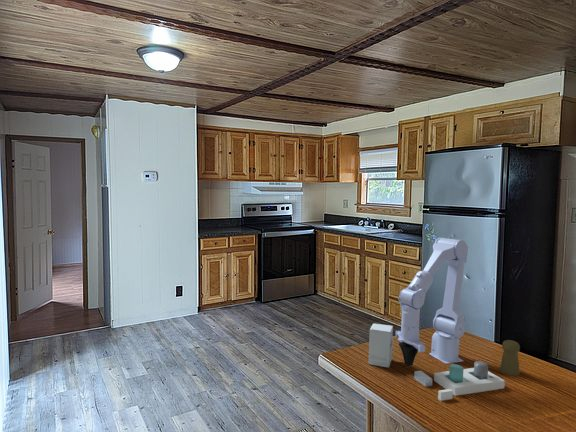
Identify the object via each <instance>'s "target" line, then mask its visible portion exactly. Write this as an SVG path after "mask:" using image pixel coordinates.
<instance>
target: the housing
mask: <svg viewBox="0 0 576 432" xmlns="http://www.w3.org/2000/svg"><path fill="white" fill-rule="evenodd" d="M433 381H434V382H435V383H436V384H438V385H439V386H441V387H442V388H444V390H446V389H451V390H452V391H453V395H454V396H463V395H470V394H475V393H481V392H482V393H483V392H488V391H496V390H500V389H501V390H503V389H505V381H506V380H505V379H503V378H501V377H499V376H498V375H496V374H494V373H492V372H491V371H489V370H488V379H483V380H479V379H478V378H476V377H474V367H470V368H464V370H463V382H462V383H454V382H452V381H451V380H449V370H446V371H439V372H433Z"/></svg>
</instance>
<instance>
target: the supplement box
mask: <svg viewBox="0 0 576 432" xmlns="http://www.w3.org/2000/svg"><path fill="white" fill-rule="evenodd" d="M393 334H394V326H393V325H389V324H388V325H387V324H381V323H372V325H371V326H370V329H369V334H368V335H369V338H368V340H369V341H368V365H371V366H378V367H383V368H390V365H391V363H392V360H393Z"/></svg>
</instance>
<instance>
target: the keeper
mask: <svg viewBox="0 0 576 432" xmlns="http://www.w3.org/2000/svg"><path fill="white" fill-rule="evenodd" d="M437 399H438V402H439V403H442V401H448V400H453V399H454V398H453V391H452V390H451V389H441V390H438V391H437Z"/></svg>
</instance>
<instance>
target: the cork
mask: <svg viewBox="0 0 576 432" xmlns="http://www.w3.org/2000/svg"><path fill="white" fill-rule="evenodd" d="M501 347H502V349H503V352H502V356H501V357H502V358H501V363H500V367H499V371H500V372H501V373H503V374H504V375H507V376H515V377H516V376H517V377H518V376H520V374H521V373H520V372H521V371H520V362H519V352H520V350H521V346H520V344H519V342H517V341H515V340H512V339H511V340H510V339H507V340H504V341H502V345H501Z"/></svg>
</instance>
